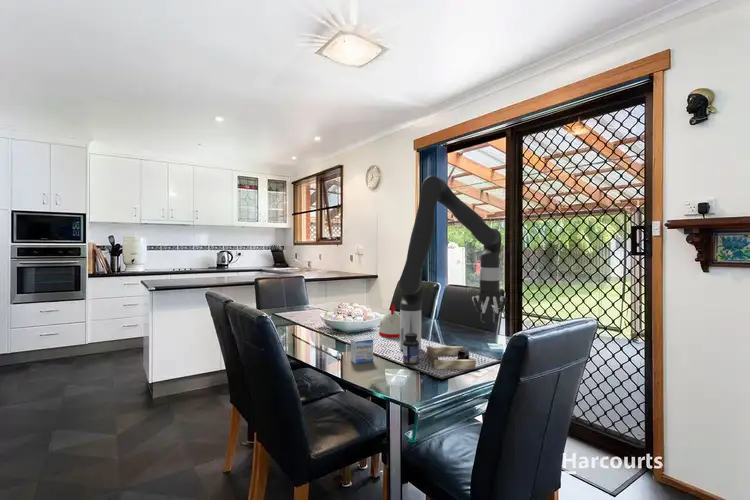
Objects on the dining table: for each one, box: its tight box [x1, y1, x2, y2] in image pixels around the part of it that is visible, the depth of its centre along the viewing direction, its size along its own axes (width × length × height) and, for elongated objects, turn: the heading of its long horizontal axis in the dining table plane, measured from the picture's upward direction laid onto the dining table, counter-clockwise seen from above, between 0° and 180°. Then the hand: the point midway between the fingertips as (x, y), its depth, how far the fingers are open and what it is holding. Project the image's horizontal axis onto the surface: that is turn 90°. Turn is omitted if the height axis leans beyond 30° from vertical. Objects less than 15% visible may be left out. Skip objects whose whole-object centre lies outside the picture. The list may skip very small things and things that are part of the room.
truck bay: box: [426, 345, 477, 370], centre depth 149 cm, size 15×19×4 cm
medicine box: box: [350, 337, 374, 365], centre depth 148 cm, size 8×4×9 cm, turn 117°
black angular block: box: [456, 348, 475, 360], centre depth 149 cm, size 12×7×5 cm, turn 142°
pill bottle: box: [402, 333, 420, 366], centre depth 146 cm, size 6×6×11 cm
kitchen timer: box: [378, 304, 400, 339], centre depth 191 cm, size 14×14×15 cm
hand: (489, 322), depth 149 cm, fingers open, 3 cm apart
